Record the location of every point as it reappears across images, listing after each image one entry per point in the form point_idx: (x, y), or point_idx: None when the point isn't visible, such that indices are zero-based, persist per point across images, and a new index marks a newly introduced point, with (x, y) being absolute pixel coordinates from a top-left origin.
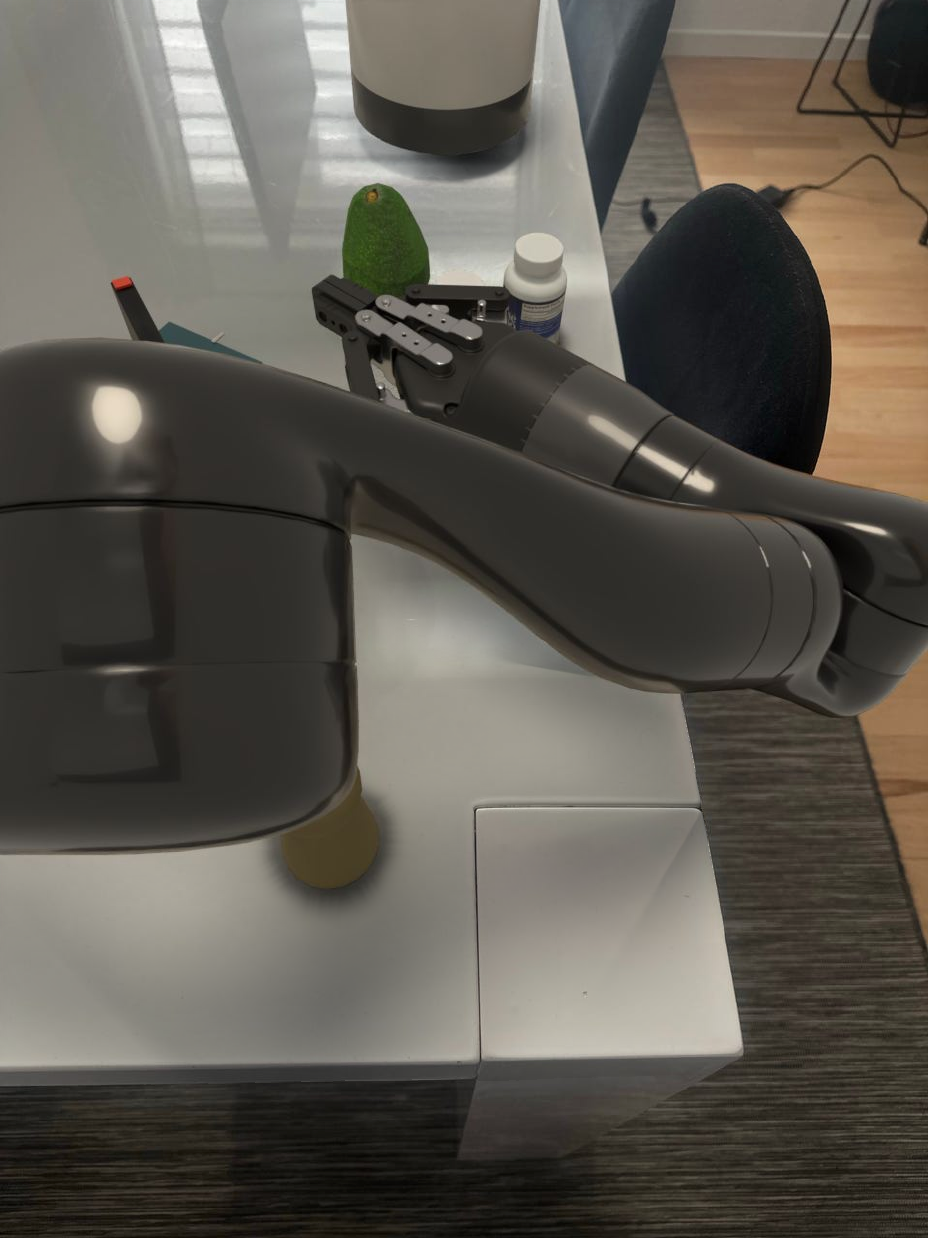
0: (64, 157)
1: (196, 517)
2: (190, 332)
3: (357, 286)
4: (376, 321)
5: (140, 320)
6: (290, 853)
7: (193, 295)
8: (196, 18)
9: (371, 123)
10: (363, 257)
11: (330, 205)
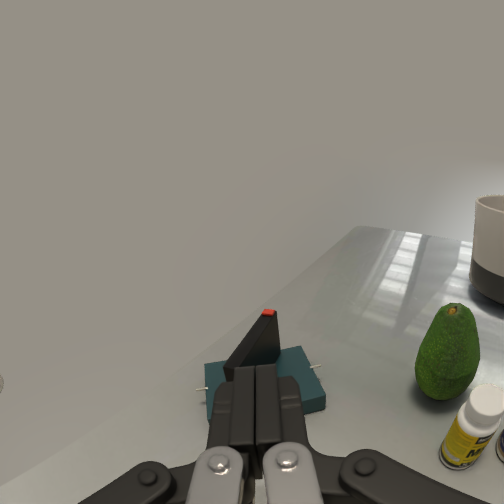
0: (334, 265)
1: None
2: (304, 356)
3: (294, 400)
4: (218, 486)
5: (252, 335)
6: None
7: (334, 337)
8: (419, 236)
9: (474, 280)
10: (430, 352)
11: None
